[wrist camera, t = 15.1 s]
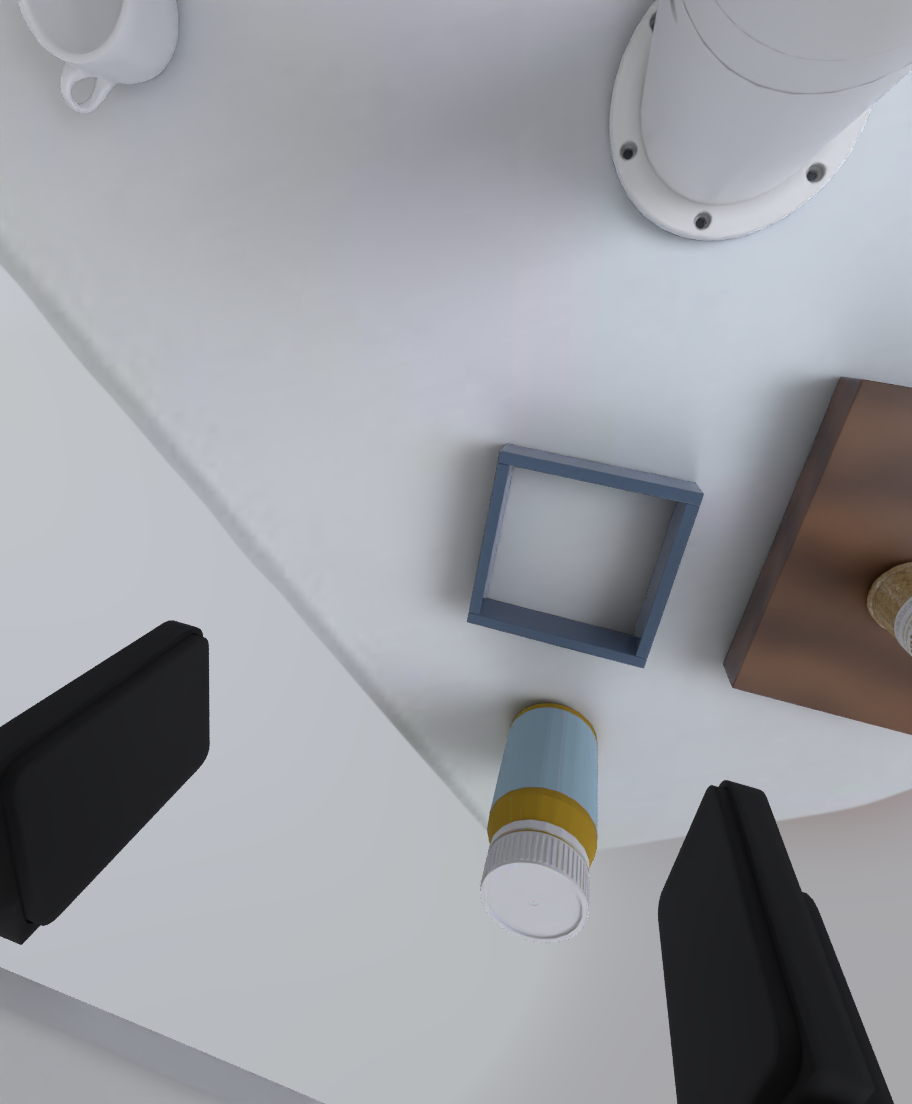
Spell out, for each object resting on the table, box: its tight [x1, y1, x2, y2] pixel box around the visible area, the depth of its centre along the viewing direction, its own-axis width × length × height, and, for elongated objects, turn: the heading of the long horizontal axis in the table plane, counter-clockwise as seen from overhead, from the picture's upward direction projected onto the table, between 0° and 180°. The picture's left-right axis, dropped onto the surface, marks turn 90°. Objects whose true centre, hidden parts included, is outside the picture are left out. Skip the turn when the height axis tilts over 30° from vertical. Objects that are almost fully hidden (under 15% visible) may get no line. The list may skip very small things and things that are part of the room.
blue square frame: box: [467, 443, 704, 668], centre depth 38 cm, size 13×13×3 cm
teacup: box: [17, 0, 179, 114], centre depth 33 cm, size 10×8×5 cm
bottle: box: [480, 703, 598, 943], centre depth 38 cm, size 7×7×15 cm
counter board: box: [723, 377, 912, 735], centre depth 34 cm, size 20×13×3 cm, turn 171°
